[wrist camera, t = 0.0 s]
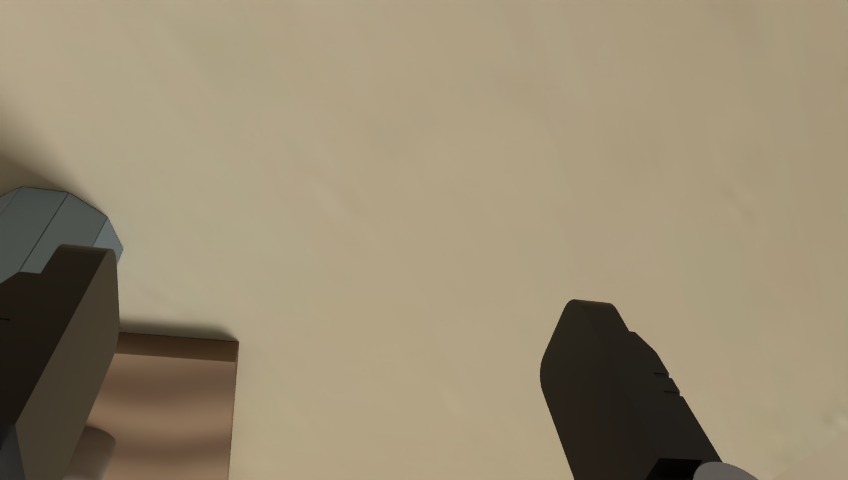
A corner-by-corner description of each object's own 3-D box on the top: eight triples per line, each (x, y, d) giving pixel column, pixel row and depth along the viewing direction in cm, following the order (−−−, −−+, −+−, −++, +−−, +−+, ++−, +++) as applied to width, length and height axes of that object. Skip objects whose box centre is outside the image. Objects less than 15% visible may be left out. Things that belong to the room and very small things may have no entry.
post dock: (-83, 316, 32) (-187, 453, 26) (238, 342, 35) (216, 468, 29) (-23, 487, 41) (-89, 618, 35) (227, 494, 45) (208, 615, 38)
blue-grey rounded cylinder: (-34, 180, 28) (-163, 326, 20) (119, 199, 29) (47, 341, 22) (-9, 280, 31) (-113, 435, 24) (126, 293, 32) (65, 442, 25)
